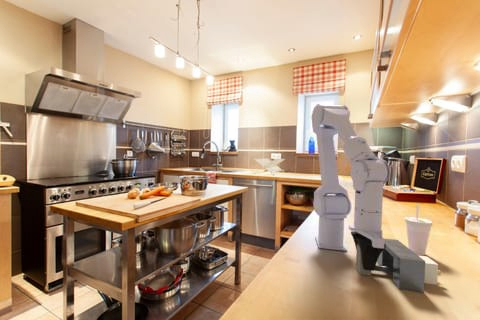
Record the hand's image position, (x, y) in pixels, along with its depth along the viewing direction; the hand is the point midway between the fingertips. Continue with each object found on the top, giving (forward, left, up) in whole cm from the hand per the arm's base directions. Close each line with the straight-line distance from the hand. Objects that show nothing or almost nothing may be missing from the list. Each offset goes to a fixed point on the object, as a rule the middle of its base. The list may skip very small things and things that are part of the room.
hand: (365, 265), depth 54 cm
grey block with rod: (0, +6, -1) cm, 7 cm away
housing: (0, +7, -1) cm, 7 cm away
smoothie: (-16, +19, -2) cm, 25 cm away
